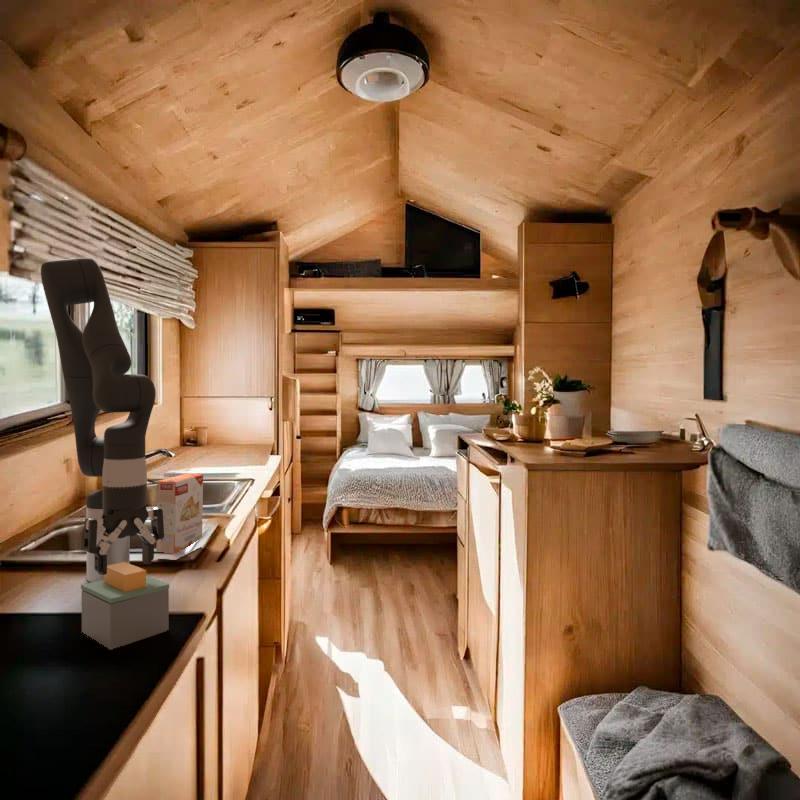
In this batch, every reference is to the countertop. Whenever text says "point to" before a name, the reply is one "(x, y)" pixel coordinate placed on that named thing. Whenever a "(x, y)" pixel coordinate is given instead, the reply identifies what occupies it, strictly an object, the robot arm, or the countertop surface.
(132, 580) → the orange rectangular block
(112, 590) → the lid
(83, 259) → the robot arm
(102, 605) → the storage box
